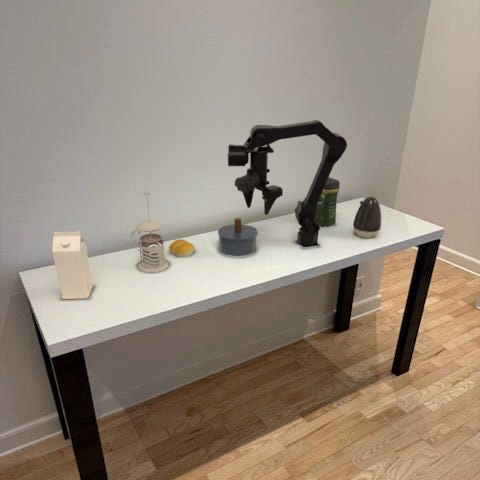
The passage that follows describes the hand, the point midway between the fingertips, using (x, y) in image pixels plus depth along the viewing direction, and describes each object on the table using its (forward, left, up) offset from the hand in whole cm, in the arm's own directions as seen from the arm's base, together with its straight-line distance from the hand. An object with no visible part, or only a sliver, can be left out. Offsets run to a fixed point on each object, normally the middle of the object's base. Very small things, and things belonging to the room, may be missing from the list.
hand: (257, 211), depth 155 cm
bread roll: (+27, -2, -13) cm, 30 cm away
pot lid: (+8, +2, -7) cm, 10 cm away
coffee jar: (-34, -13, -13) cm, 39 cm away
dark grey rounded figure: (-43, +4, -13) cm, 45 cm away
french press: (+39, +5, -13) cm, 41 cm away
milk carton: (+62, +17, -13) cm, 65 cm away
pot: (+8, +2, -13) cm, 15 cm away
